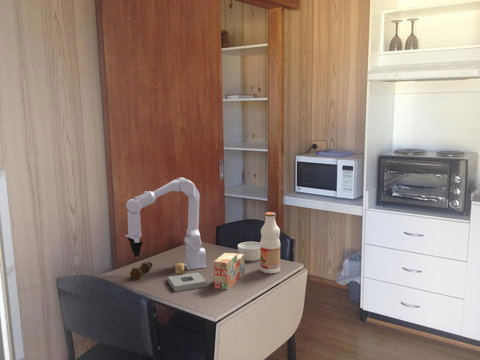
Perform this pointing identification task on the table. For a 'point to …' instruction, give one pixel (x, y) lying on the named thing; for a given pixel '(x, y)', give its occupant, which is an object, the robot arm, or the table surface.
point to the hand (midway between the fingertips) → (135, 253)
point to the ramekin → (250, 250)
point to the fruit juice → (270, 245)
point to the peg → (179, 268)
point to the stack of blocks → (228, 270)
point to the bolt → (140, 270)
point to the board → (187, 281)
